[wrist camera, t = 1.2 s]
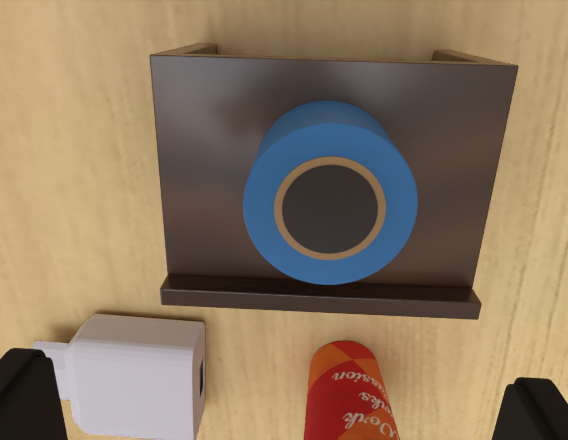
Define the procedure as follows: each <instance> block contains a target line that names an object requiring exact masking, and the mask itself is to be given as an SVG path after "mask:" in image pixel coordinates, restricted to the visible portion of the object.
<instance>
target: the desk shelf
mask: <svg viewBox="0 0 568 440" xmlns="http://www.w3.org/2000/svg"><path fill="white" fill-rule="evenodd" d="M150 66H151V78H152V90H153V102H154V114H155V126H156V138H157V151H158V163H159V175H160V187H161V199H162V211H163V223H164V235H165V248H166V260H167V272H168V275H167V277H166V279H165V281H164V282H163V284H162V286H161V288H160V296H161V304H162V305H174V306H196V307H217V308H239V309H260V310H281V311H303V312H324V313H346V314H367V315H388V316H410V317H431V318H453V319H474V320H477V319H478V318H479V313H480V309H481V302H480V300H479V298H478V297H477V295H476V294H475V292H474V290H473V289H472V286H473V281H474V277H475V272H476V267H477V262H478V258H479V253H480V248H481V243H482V238H483V234H484V229H485V224H486V219H487V215H488V210H489V205H490V200H491V195H492V191H493V186H494V181H495V176H496V172H497V167H498V162H499V157H500V152H501V148H502V143H503V138H504V133H505V129H506V124H507V119H508V114H509V109H510V105H511V100H512V95H513V90H514V86H515V81H516V76H517V71H518V65H513V64H509V63H504V62H500V61H495V60H491V59H487V58H482V57H478V56H474V55H469V54H465V53H461V52H456V51H449V50H435V51H434V55H433V61H416V60H382V59H348V58H314V57H280V56H246V55H217V46H216V44H205V43H198V44H193V45H189V46H185V47H181V48H177V49H172V50H168V51H164V52H160V53H156V54H151V55H150ZM324 100H331V101H340V102H344V103H349V104H351V105H354V106H356V107H358V108H360V109H362V110H364V111H366V112H367V113H368V114H370V115H371V116H372V117H374V118H375V119H376V120H377V121H378V122H379V123H380V125H381V126H382V127H383V129H384V130H385V131H386V133H387V134H388V136H389V137H390V139H391V140H392V141H393V143H394V144H395V146H396V147H397V149H398V150H399V152H400V153H401V155H402V156H403V158H404V159H405V160H406V162H407V164H408V166H409V168H410V169H411V172H412V174H413V177H414V180H415V184H416V188H417V196H418V207H417V216H416V220H415V224H414V227H413V230H412V232H411V234H410V236H409V238H408V240H407V242H406V244H405V245H404V246H403V248H402V249H401V251H400V252H399V253H398V254H397V255H396V256H395V257H394V259H393V260H391V261H390V262H389V263H388V264H387V265H386V266H384V267H383V268H381V269H380V270H378V271H377V272H375V273H373V274H371V275H369V276H367V277H365V278H362V279H360V280H357V281H353V282H349V283H344V284H336V285H322V284H313V283H309V282H304V281H301V280H298V279H295V278H293V277H291V276H289V275H287V274H284V273H283V272H281V271H280V270H278V269H277V268H275V267H274V266H273V265H272V264H270V263H269V262H268V261H267V260H266V259H265V258H264V257H263V256H262V255H261V254H260V252H259V251H258V249H257V248H256V247H255V245H254V243H253V241H252V240H251V238H250V236H249V233H248V230H247V228H246V224H245V219H244V213H243V197H244V191H245V186H246V183H247V180H248V177H249V174H250V171H251V169H252V166H253V163H254V161H255V158H256V155H257V153H258V150H259V147H260V144H261V142H262V140H263V138H264V136H265V134H266V133H267V132H268V130H269V129H270V127H271V126H272V125H273V124H274V123H275V122H276V121H277V120H278V119H279V118H280V117H281V116H283V115H284V114H285V113H287V112H288V111H290V110H292V109H294V108H296V107H298V106H300V105H303V104H306V103H309V102H315V101H324Z"/></svg>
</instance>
